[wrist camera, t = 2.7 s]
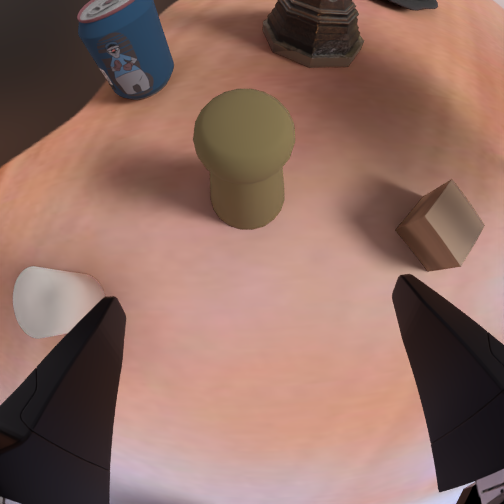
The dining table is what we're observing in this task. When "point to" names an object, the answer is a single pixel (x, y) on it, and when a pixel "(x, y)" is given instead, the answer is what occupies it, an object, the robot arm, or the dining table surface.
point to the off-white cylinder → (53, 300)
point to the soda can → (127, 45)
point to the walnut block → (441, 228)
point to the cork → (245, 155)
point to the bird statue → (314, 32)
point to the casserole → (416, 4)
